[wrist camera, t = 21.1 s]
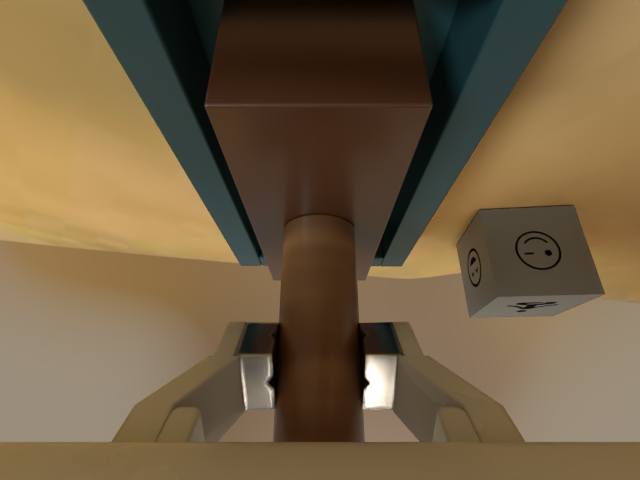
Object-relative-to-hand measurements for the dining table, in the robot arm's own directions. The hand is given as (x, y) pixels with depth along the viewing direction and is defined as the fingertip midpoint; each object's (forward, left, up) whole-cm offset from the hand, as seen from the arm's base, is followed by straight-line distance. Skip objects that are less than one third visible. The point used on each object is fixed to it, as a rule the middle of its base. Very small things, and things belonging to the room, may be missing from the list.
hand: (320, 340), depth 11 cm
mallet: (0, 0, -7) cm, 7 cm away
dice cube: (-14, +3, -8) cm, 16 cm away
